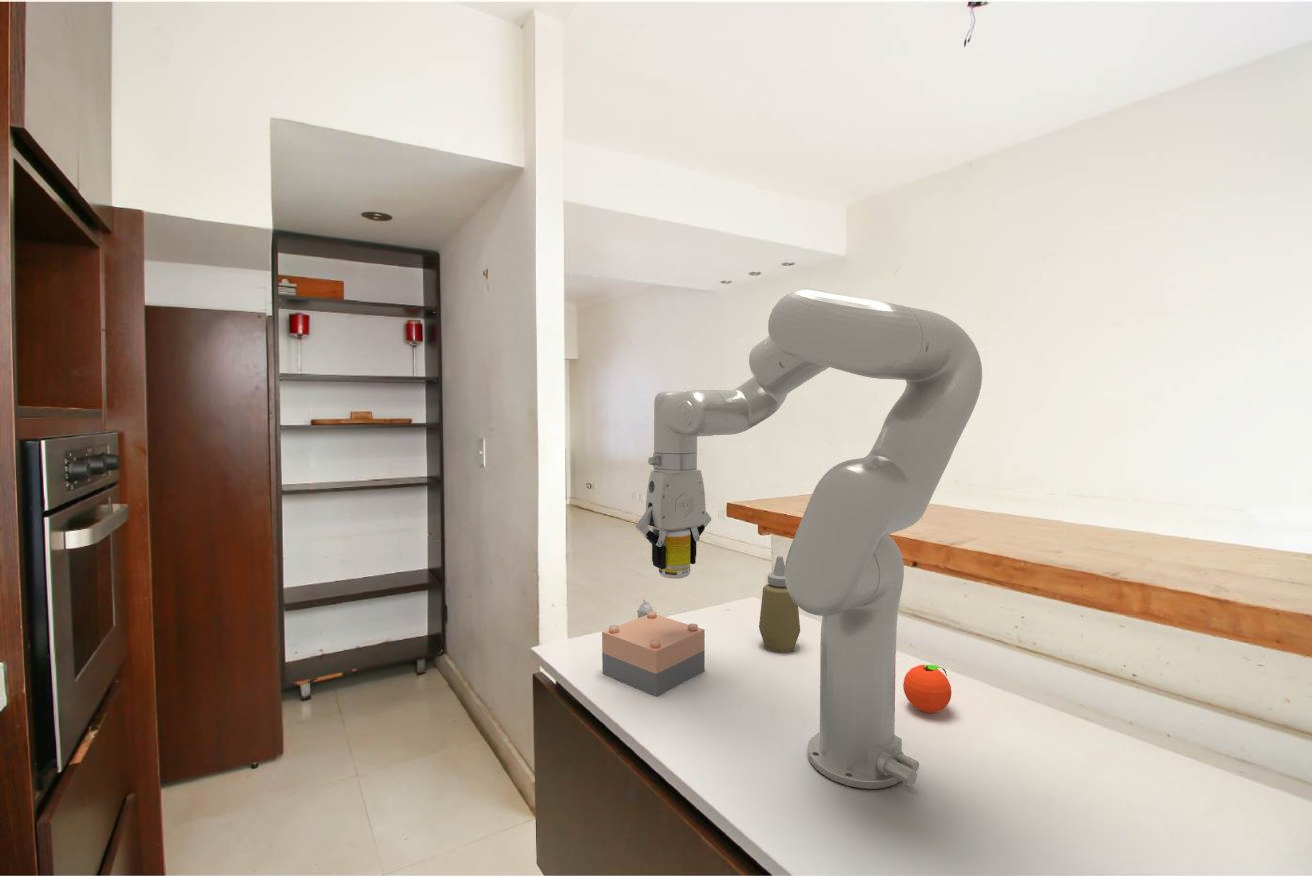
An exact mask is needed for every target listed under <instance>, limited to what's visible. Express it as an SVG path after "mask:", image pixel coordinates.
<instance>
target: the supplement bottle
mask: <svg viewBox="0 0 1312 876" xmlns="http://www.w3.org/2000/svg"><path fill="white" fill-rule="evenodd" d="M690 535H691V534H690V530H689V529H688V528H685V529H678V530H669V531H667V532H666V536H665V539H664V542H663V546H665V547H666V568H665V569H660V568H658V573H659V575H660V576H661V577H663V578H666V579H671V580H672V579H684V578H686V577H688V576H689V575H690V574H691V564H690V538H691V536H690Z"/></svg>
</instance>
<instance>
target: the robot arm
mask: <svg viewBox="0 0 1312 876" xmlns="http://www.w3.org/2000/svg"><path fill="white" fill-rule="evenodd" d="M767 331H768V336H767V337H765V338H764V339H762V340H761V341H760V342H758V343H757V344H756V345H754V346H753V347H752V349H751V351H750V352H749V356H748V363H749V364H748V365H749V368H750V369H749V370H750V372H751V375H752V377H751V378H749V379H748V380H746V381H745V382H743V383H742V384H741V385H740V386H739V385H738V386H737V387H736V388H734V389H732V390H731V389H730V390H727V389H695V390H687V391H677V390H676V391H675V390H674V391H670V390H669V391H661V392H658V393H656V395H655V397H654V399H653V400H654V404H653V409H654V410H653V453H652V455H653V456H652V457H651V456H650V457H648V460H647V463H648V465H649V466H652V468H653V469H652V470H650V474H649V478H648V483H647V489H646V497H645V498H646V499H645V500H646V502H645V512H644V514H643V515H642V516H641V517H640V519H639V521H638V522H637V524H636V525H635V529H636V530H637V531H638V532H640V533H641V534H642V535H643V537H644V538H645V539H646V540H648V542H649V543H650V544H651V562H652V565H653V566H654V567H655V568H658V569H659V568H660V569H665V568H666V547H665V546H663V542H664V539H665V536H666V532H667V531H669V530H678V529H685V528H688V529H689V530H690V534H691V535H690V536H691V538H690V565H695V564H696V560H697V542H698V541H700V538H701V537H700V536H701V535H702V534H703V533H704V531H705V528H707V526H708V525H709V524H710V523H711V522H712V517H711V516H710V514H709V513H708V512H707V510H706V509H707V508H706V494H705V483H704V479H703V474H702V471H701V469H698V437H712V436H726V435H727V436H730V435H737V434H738V435H739V434H740V433H744V432H746V431H748V430H750V429H752V428H753V427H755V426H757V425H758V424H760V423H762V422H764V421H765V420H766V419H768V418H770V417H771V416H773V415H775V413H776V412H777V411H778V410H779V409H781V408H780V407H781V406H782V405H783V403H784V402H785V400H786V399H787V396H788V394H790V393H791V392H792V391H794V390H795V389H797V388H799V387H801V386H802V385H804V383H806V382H808V381H809V380H811V379H812V378H814V377H816V376H817V375H819V374H821V373H822V372H824V371H826V370H828V369H829V368H831V369H835V370H838V371H841V372H842V371H843V372H846V373H850V374H853V375H857V376H859V377H860V376H861V377H865V378H870V379H878V380H900V381H901V380H902V381H905V382H906V386H905V388H904V391H903V393H902V394H901V395H900V397H899V398H898V400H897V401H896V402H895V403H894V405H893V406H892V408H891V409H890V411H889V412H888V413H887V416H886V417H885V419H884V421H883V424H882V426H881V429H880V432H879V434H878V435H877V438H876V440H875V443H874V445H873V446H872V448H871V450H870V451H869V452H868V454H866V455H865V456H864V457H861V458H860V457H859V458H853V459H849V460H844V461H842V462H839V463H838V464H836V465H834V466H832V467H831V468H829V470H828V471H826V473H824V475H822V477H821V479H820V480H819V481H818V482H817V483H816V486H815V488H814V489H813V492H812V494H811V496H810V499H809V501H808V503H807V506H806V508H805V511H804V513H803V516H802V518H801V520H800V523H799V525H798V527H797V529H796V533H795V534H794V537H793V539H792V542H791V544H790V546H789V549H788V552H787V555H786V559H785V562H784V565H785V582H786V587H787V590H788V592H789V595H790V596H791V598H792V600H793V601H794V602H795V603H796V605H797V606H798V608H799V609H801V610H803V611H804V612H806V613H808V614H810V615H813V616H818V617H822V618H821V623H820V624H821V626H820V651H819V652H820V653H819V654H820V662H819V663H820V664H819V665H820V666H819V668H820V669H819V670H820V671H819V678H820V679H819V732H818V733H816V734H814V735H813V736H812V737H811V738H810V740H809V741H808V744H807V757H808V759H809V762H810V763H811V765H812V766H813V767H814V768H815V769H816V771H818V772H819V773H821V774H822V775H824V776H825V777H827V778H829V779H830V780H832V781H834V782H837V783H838V784H842V785H845V786H848V787H853V788H858V789H865V790H866V789H868V790H871V789H872V790H873V789H874V790H875V789H883V788H889V787H891V786H894V785H896V784H898V783H900V782H901V783H903V784H904V785H906V786H908V787H911V788H912V787H913V786H914V785H915V783H917V782H916V781H917V777H918V775H917V773H918V771H919V767H920V763H919V761H918V760H915V759H914V758H912V757H911V756H907V755H905V754H904V752H903V748H902V745H903V738H901V737H900V736H897V735H896V734H895V727H896V726H895V721H896V720H895V718H896V717H895V716H896V713H895V712H896V664H897V663H896V662H897V661H896V657H897V656H896V655H897V627H898V617H899V616H898V614H899V608H900V602H901V596H902V592H903V591H902V590H903V584H904V577H905V566H904V565H905V564H904V559H903V555H902V552H901V549H900V548H899V546H898V544H897V543H896V542H895V540H894V539H893V538H892V537H891V536H890V534H893V533H897V532H900V531H903V530H905V529H908V528H910V527H912V526H914V525H915V524H916V523H918V521H920V519H922V517H923V515H924V514H925V512H926V510H927V508H928V506H929V504H930V502H931V500H932V497H933V495H934V494H935V491H936V489H937V486H938V485H939V483H940V480H941V478H942V477H943V474H944V473H945V471H946V469H947V466H948V464H949V462H950V460H951V457H952V455H953V453H954V451H955V448H956V446H957V445H958V442H959V440H960V438H961V437H962V436H961V435H962V434H963V433H964V430H965V428H966V426H967V424H968V422H969V420H970V418H971V416H972V413H973V412H974V409H975V407H976V404H977V402H978V399H979V396H980V393H981V388H982V383H983V367H982V366H983V365H982V361H981V357H980V354H979V351H978V349H977V347H976V344H975V343H974V341H973V340H972V338H971V337H970V335H968V334H967V332H966V331H965V330H964V329H963V328H962V327H961V326H960V325H959V324H958V323H956V322H955V321H953V320H952V319H950V318H949V317H946V316H944V315H941V314H939V313H937V312H934V311H931V310H925V309H921V308H915V307H910V306H905V305H901V304H896V303H893V302H892V303H891V302H885V301H878V300H873V299H866V298H860V297H852V296H848V295H847V296H846V295H841V294H836V293H831V292H827V291H822V290H817V289H813V288H798V289H796V290H793V291H791V292H789V293H787V294H786V295H784V296H782V297H781V298H780V299H779V300H778V301H777V302H776V304H775V305H774V306H773V308H772V310H771V312H770V314H769V318H768V321H767ZM649 527H652V529H650V528H649Z"/></svg>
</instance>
